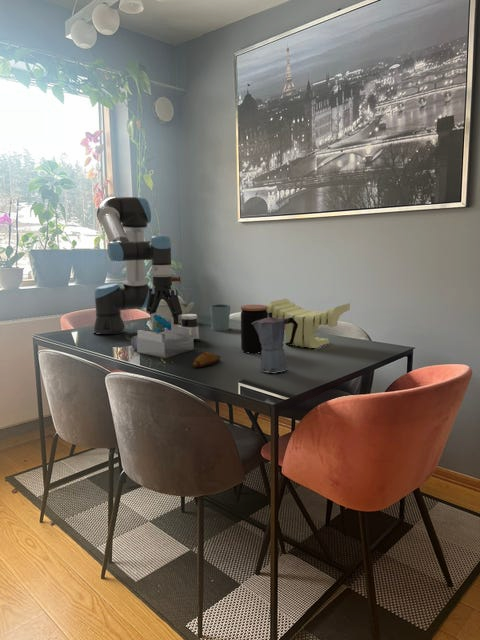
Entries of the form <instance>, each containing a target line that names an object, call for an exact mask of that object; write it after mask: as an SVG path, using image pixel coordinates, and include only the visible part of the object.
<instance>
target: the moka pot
mask: <svg viewBox="0 0 480 640" xmlns="http://www.w3.org/2000/svg"><path fill="white" fill-rule="evenodd" d="M268 316H269V317H268V318H265V319H261V320H258V321H254V322H253V323H252V325H253V326H254V328H255V330H256V332H257V333H258V335H259V340H260V343H261V344H262V345H261V346H262V351H261V353H260V354H261V358H260V371H261V370H263V371H269V372H277V371H282V370H286V368H287V369H288V367H287V361H286V356H285V352H284V351H285V350H284V342H285V324H289V323H293V324H294V327H293V331H292V335H291V339H290V342H288V343H287V342H285V346H289V345H292V344H293V340H294V337H295V333H296V330H297V327H298V324H297V322H296V321H295V320H294V319H293V318H292V317H291V318H288V319H287V318H284V319H279V318H273V317H272V313H271V312H270V313H268ZM286 371H287V370H286Z"/></svg>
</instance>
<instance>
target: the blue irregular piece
mask: <svg viewBox="0 0 480 640" xmlns="http://www.w3.org/2000/svg"><path fill="white" fill-rule="evenodd" d="M153 317H154V318H155V320H156V321H157V322H156V328H155V329H154V330H152V332H155V331H156V333H159V332H161V330H162V328H163V329H165V328H167V329H168V330H171V331H172V328H171V325H170V322H169V321H168V322H167V321H166V319H165V318H162V317H161V316H159V315H154V316H153ZM157 328H158V329H157Z"/></svg>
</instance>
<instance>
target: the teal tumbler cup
mask: <svg viewBox="0 0 480 640" xmlns="http://www.w3.org/2000/svg"><path fill="white" fill-rule="evenodd" d="M209 312H210V323H211V324H210V325H211V331H214V332H225V331H228V330H229V329H230V315H231V305H230V304H225V303H223V304H220V303H219V304H218V303H217V304H211V305H209Z"/></svg>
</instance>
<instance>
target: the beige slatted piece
mask: <svg viewBox="0 0 480 640" xmlns="http://www.w3.org/2000/svg"><path fill="white" fill-rule="evenodd" d="M350 305H351V303H346V304H343V305H338V306H336V307H333V308H331V309H330V308H329V310H327V311H316V310H315V311H314V310H312V311H311V310H309V309H306V308H302V307H301V306H299V305H296V304H295V303H293V302H291V301H290V300H289V299H287V298H282V299H278V300H274V301H270V302H269V303H268V304H267V306H268V309H267V312H268V313H270V312H271V313H272V317H273V318H279V319H284V318H287V319H288V318H291V317H292V318H293V319H294V320H295V321H296V322H297V324H298V327H297V330H296V333H295V337H294V340H293V344H292V345H293V346H292V347H297V346H300V347H299V348H304V347H308V348H307V349H311V348H315V347H318V346H320V345H323V344H326V343H329V342H330V340H329V338H323V337H318V336H317V337H316V333H317V330H318V329H319V327H320V326H328V327H330V328H334V327H337V326H338V321H339V319H340V316H342V315H343V314H345V312H348V311H350V307H351V306H350ZM268 317H269V316H268ZM293 327H294V324H293V323H289V324H285V330H284V333H285V336H286V339H285V340H286V343H288V342H290V339H291V335H292V331H293ZM294 345H295V346H294Z"/></svg>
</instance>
